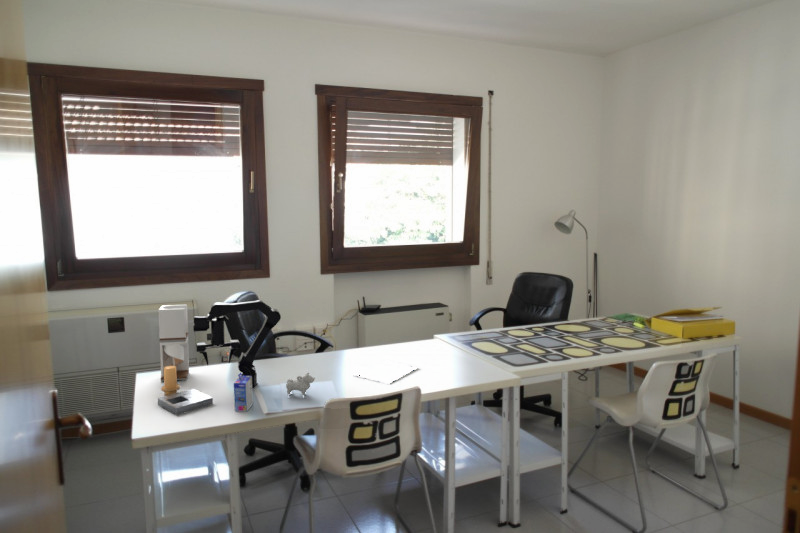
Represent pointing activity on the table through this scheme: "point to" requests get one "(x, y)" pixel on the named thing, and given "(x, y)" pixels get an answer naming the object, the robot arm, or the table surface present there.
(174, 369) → the orange flanged peg
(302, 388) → the grey dog figurine
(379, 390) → the table surface
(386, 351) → the table surface
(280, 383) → the table surface
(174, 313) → the white dispenser
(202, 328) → the robot arm
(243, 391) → the ink cartridge box
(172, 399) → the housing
